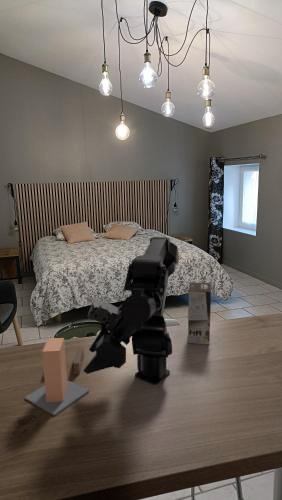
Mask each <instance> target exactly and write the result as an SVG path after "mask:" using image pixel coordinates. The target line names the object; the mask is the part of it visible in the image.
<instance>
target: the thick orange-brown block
mask: <svg viewBox="0 0 282 500" xmlns="http://www.w3.org/2000/svg"><path fill="white" fill-rule="evenodd" d="M65 345H66V344H65V338H64V337H59V338H58V337H54V338H50V337H49V338H47V340H46V342H45V345H44V347H43V348H42V350H41V351H42V353H41V354H42V364H43V378H44V385H45V391H46V402H63V400H64V397H65V393H66V389H67V380H68V374H67V364H66V363H67V360H66V359H67V358H66V347H65Z"/></svg>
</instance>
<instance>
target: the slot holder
mask: <svg viewBox="0 0 282 500" xmlns="http://www.w3.org/2000/svg"><path fill="white" fill-rule="evenodd" d="M84 351H85V350H84V345H80V346H79V345H77V349H76V352H75V356H74V360H73V365H72V366H73V375H80V374H81V369H82V365H83V363H84V357H85V354H84Z"/></svg>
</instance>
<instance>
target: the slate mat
mask: <svg viewBox="0 0 282 500" xmlns="http://www.w3.org/2000/svg"><path fill="white" fill-rule="evenodd" d="M89 392H90V390H89V389H87V388H85V387H82V386H80V385H79V384H76V383H74V382H72V381H70V380H68V379H67V389H66V393H65V397H64V400H63V402H46V391H45V384H44V385H43V386H41V387H39V388H38V389H36V390H34V391H33V392H31V393H29V394H27V395H25V396H24V399H25V400H26V401H28V402H29V403H31V404H33V405H34V406H36V407H38V408H39V409H42V410H44V411H45V412H46V413H48V414H50V415H52V416H54V417H56V416H57V415H58V414H59V413H61V412H62V411H63V410H65V409H66V408H68V407H70V406H71V405H73V404H74V403H76V402H77V401H79V399H81V398H82V397H85V395H87V394H88V393H89Z"/></svg>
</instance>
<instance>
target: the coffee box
mask: <svg viewBox="0 0 282 500" xmlns="http://www.w3.org/2000/svg"><path fill="white" fill-rule="evenodd" d="M211 285H212V284H211V282H189V287H188V303H187V304H188V308H187V309H188V310H187V311H188V313H187V314H188V315H187V318H188V319H187V343H189V344H197V345H198V344H199V345H209V344H210V337H211V336H210V335H211V315H212V314H211V311H212V310H211V307H212V305H211V304H212V301H211V300H212V290H211V289H212V287H211Z"/></svg>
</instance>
